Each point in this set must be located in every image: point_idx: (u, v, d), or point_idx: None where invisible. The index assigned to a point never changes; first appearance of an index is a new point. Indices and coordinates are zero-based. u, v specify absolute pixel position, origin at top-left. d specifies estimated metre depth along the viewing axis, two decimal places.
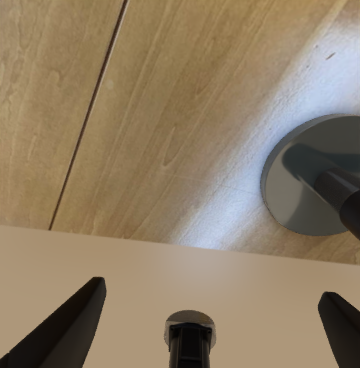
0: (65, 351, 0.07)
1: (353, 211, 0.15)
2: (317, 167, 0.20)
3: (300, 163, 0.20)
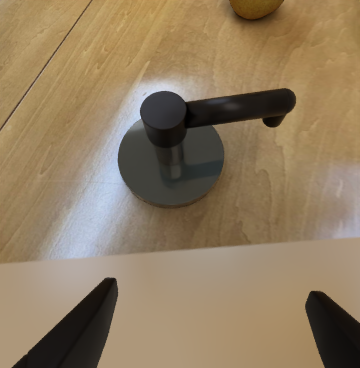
0: (81, 352, 0.07)
1: None
2: None
3: (140, 143, 0.25)
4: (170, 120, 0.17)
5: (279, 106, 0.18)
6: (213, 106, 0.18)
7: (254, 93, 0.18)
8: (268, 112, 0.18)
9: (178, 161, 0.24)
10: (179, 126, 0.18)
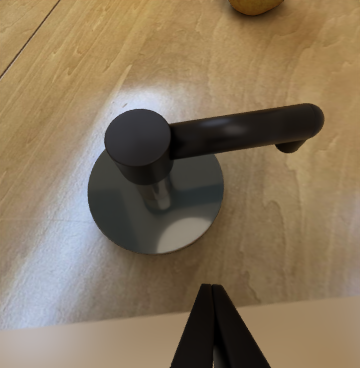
0: None
1: None
2: None
3: (117, 170, 0.20)
4: (147, 152, 0.12)
5: (302, 129, 0.13)
6: (210, 131, 0.12)
7: (266, 111, 0.13)
8: (286, 137, 0.13)
9: (165, 195, 0.18)
10: (160, 161, 0.12)
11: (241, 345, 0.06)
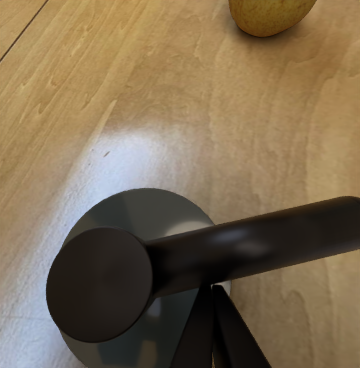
0: None
1: None
2: None
3: None
4: (115, 314, 0.07)
5: (354, 245, 0.08)
6: (214, 262, 0.08)
7: (298, 218, 0.08)
8: (329, 255, 0.09)
9: None
10: None
11: (242, 345, 0.06)
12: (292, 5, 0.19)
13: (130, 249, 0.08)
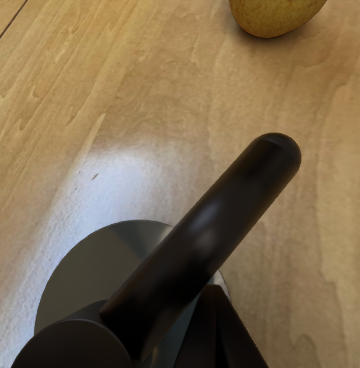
0: None
1: None
2: (102, 298, 0.14)
3: (77, 297, 0.14)
4: None
5: (286, 179, 0.08)
6: (176, 284, 0.07)
7: (227, 187, 0.08)
8: (273, 200, 0.08)
9: None
10: None
11: (239, 345, 0.06)
12: (301, 3, 0.17)
13: (83, 336, 0.06)
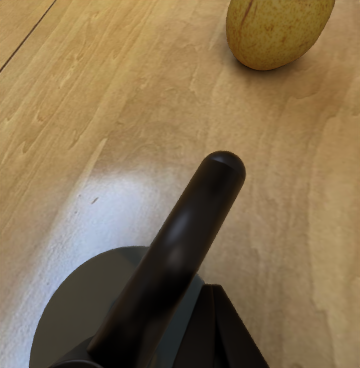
0: None
1: None
2: (99, 325, 0.14)
3: (74, 323, 0.14)
4: None
5: (234, 190, 0.09)
6: (153, 307, 0.08)
7: (185, 208, 0.09)
8: (227, 211, 0.10)
9: None
10: None
11: (240, 345, 0.06)
12: (293, 44, 0.18)
13: None
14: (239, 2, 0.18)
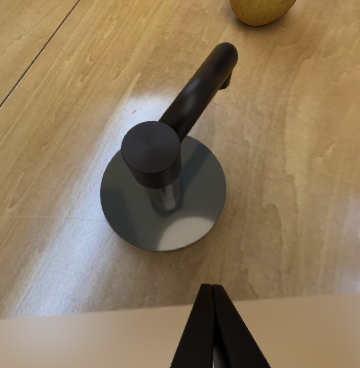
0: None
1: (134, 176, 0.15)
2: None
3: (127, 173, 0.21)
4: (169, 148, 0.14)
5: (231, 61, 0.17)
6: (188, 103, 0.15)
7: (203, 66, 0.16)
8: (227, 73, 0.17)
9: (171, 197, 0.20)
10: (180, 147, 0.14)
11: (241, 345, 0.06)
12: (277, 0, 0.25)
13: (151, 126, 0.14)
14: None
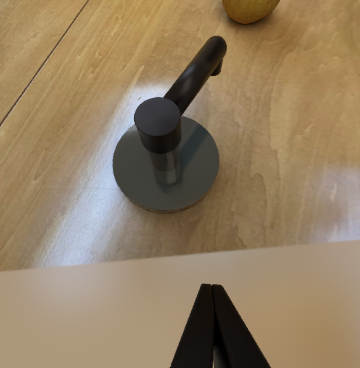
0: None
1: (144, 142, 0.19)
2: None
3: (135, 148, 0.25)
4: (172, 117, 0.18)
5: (220, 50, 0.21)
6: (186, 84, 0.19)
7: (198, 55, 0.20)
8: (217, 60, 0.21)
9: (173, 166, 0.24)
10: (180, 117, 0.18)
11: (241, 345, 0.06)
12: (262, 1, 0.29)
13: (157, 101, 0.18)
14: None
